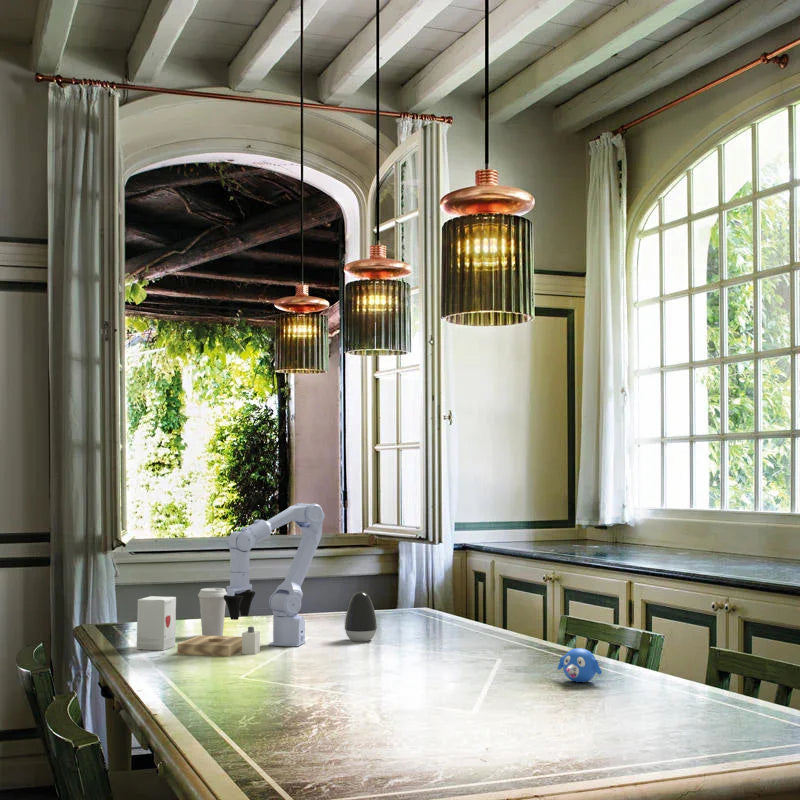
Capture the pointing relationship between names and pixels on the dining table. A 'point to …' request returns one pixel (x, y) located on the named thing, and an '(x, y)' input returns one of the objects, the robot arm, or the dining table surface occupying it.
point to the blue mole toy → (579, 665)
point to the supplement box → (156, 623)
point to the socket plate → (210, 646)
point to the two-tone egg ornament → (360, 618)
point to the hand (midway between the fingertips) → (239, 617)
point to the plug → (251, 641)
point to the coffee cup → (212, 611)
